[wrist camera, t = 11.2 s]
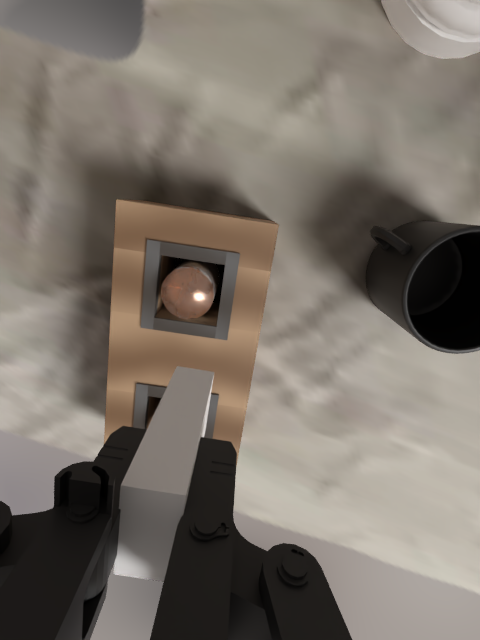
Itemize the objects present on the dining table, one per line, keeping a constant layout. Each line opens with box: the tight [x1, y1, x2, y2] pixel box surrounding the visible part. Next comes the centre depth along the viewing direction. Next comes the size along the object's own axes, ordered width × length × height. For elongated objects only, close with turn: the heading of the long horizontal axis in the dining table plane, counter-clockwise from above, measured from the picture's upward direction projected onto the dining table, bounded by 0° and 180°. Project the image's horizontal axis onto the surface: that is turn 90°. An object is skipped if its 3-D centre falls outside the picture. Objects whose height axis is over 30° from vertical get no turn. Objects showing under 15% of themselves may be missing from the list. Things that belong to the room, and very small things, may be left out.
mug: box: [366, 221, 480, 354], centre depth 31 cm, size 9×12×9 cm
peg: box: [161, 259, 220, 319], centre depth 32 cm, size 4×4×7 cm
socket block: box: [104, 199, 279, 465], centre depth 34 cm, size 24×12×7 cm, turn 171°
